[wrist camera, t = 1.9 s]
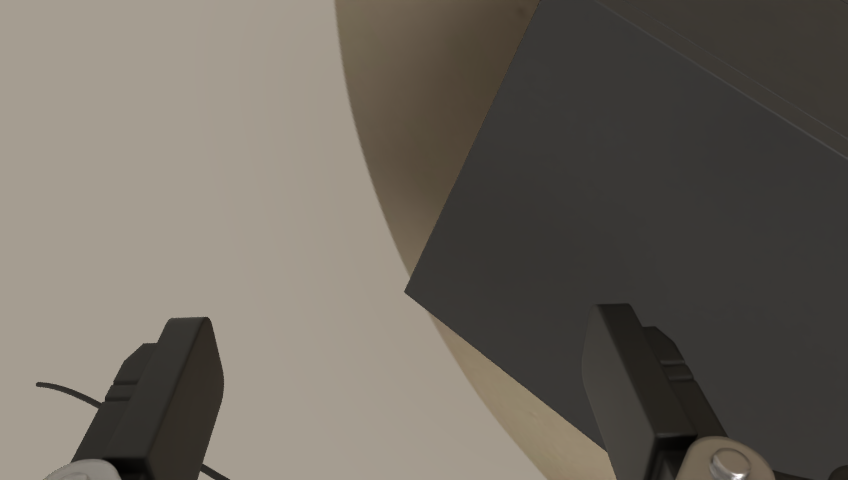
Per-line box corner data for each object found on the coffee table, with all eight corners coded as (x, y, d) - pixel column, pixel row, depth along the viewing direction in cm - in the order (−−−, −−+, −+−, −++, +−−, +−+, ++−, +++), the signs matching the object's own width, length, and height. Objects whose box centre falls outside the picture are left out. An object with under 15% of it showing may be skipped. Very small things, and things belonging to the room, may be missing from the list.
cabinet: (1118, 149, 18) (1190, 372, 12) (783, 367, 28) (728, 549, 22) (678, -103, 21) (552, -28, 15) (517, 178, 31) (403, 292, 25)
